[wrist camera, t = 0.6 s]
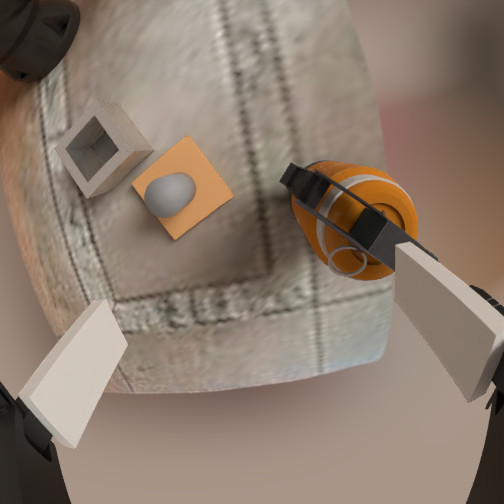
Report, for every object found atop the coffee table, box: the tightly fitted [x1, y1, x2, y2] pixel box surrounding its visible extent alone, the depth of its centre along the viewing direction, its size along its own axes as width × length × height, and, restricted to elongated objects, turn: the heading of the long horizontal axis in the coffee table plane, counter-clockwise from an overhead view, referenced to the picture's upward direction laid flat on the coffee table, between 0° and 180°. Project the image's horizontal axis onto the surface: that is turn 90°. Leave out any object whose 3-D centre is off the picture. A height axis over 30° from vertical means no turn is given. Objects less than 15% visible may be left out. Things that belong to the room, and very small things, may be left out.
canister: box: [279, 161, 439, 281], centre depth 24 cm, size 9×11×20 cm
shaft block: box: [131, 136, 234, 240], centre depth 30 cm, size 9×9×8 cm
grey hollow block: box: [55, 99, 154, 199], centre depth 28 cm, size 8×8×6 cm
